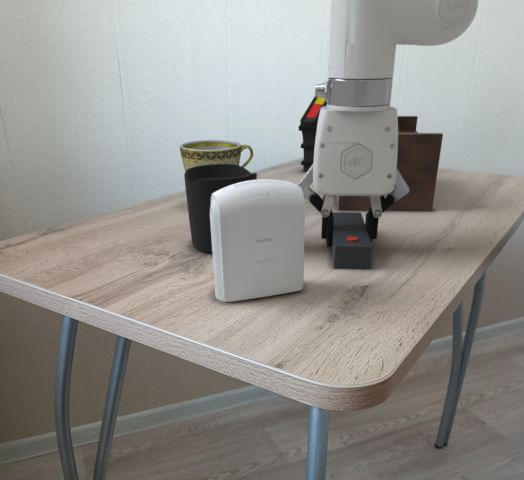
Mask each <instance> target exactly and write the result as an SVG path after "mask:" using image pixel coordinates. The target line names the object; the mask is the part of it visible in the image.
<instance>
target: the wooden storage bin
mask: <svg viewBox="0 0 524 480" xmlns="http://www.w3.org/2000/svg"><path fill="white" fill-rule="evenodd" d="M397 116H398V153H397V169H398V171H399V172H400V174H401V176H402V177H403V179H404V181H405V182H406V184H407V186H408V187H409V193H408V194H406V195H405V196H403V197H402V198H400V199H399V200H397V201H395V202H394V203H393V204H392V205H391V206H390V207H389V208H388V209H387V210H385V211H384V212H432V211H433V206H434V199H435V191H436V187H437V186H436V185H437V179H438V171H439V167H440V166H439V165H440V159H441V153H442V152H441V150H442V143H443V138H444V134H443V132H418V131H417V127H418V125H417V124H418V116H417V115H397ZM383 196H384V195H383ZM381 197H382V196H380V198H381ZM335 201H336V202H335V203H336V206H337V212H339V211H340V212H346V211H347V212H368V210H369V208H370V202H369V196H335Z"/></svg>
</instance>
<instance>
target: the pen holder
mask: <svg viewBox="0 0 524 480" xmlns="http://www.w3.org/2000/svg"><path fill="white" fill-rule="evenodd" d="M242 166H243V165H240V164H239V165H234V164H211V165H202V166H196V167H192V168H189V169H187V170H186V172H185V171H184V176H183V177H184V187H185V194H186V204H187V211H188V212H187V213H188V221H189V229H190V236H191V244H192V247H193V248H195V250H197V251H199V252H200V253H204V254H208V255H209V254H210V255H213V254H212V239H211V225H210V207H211V196H212V193H214V192H216V191H218V190H220V189H222V188H224V187H227V186H229V185H232V184H236V183H239V182H243V181H249V180H257V179H258V173H257V172H250V171H249V170H248V169H247V168H246V167H245V168H243V167H242Z"/></svg>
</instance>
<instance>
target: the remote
mask: <svg viewBox="0 0 524 480" xmlns="http://www.w3.org/2000/svg"><path fill="white" fill-rule="evenodd" d="M332 213H333V217H334V224H333V237H332V246H331V247H330V250H331V255H332V256H331V258H332V264H333V269H335V270H336V269H338V270H339V269H341V270H371V268H372V258H373V248H374V247H373V243H372V244H371V241H370V238H369V235H368V232H367V229H366V226H365V219H364V217H363V214H362V211H347V212H346V211H340V212H339V211H332Z"/></svg>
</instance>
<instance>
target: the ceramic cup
mask: <svg viewBox="0 0 524 480" xmlns="http://www.w3.org/2000/svg"><path fill="white" fill-rule="evenodd" d="M246 149H248V150H249V152H250V155H249V157H248V159H247V160H246V161H245V162H244V163H243V164H242V165H241V166H242V167H243V168H245V169H246V167H247V166H248V165H249V164H250V162H251V161H252V159H253V157H254V150H253V148H252V146H250V145H248V144H242V143H241V142H238V141H234V140H227V139H202V140H191V141H187V142H184V143H181V144H179V153H180V157H181V161H182V166H183V169H184V173H185V172H186V170H187V169H189V168H192V167H196V166H202V165H211V164H234V165H239V166H240V163H241V156H242V152H243V151H244V150H246Z"/></svg>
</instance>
